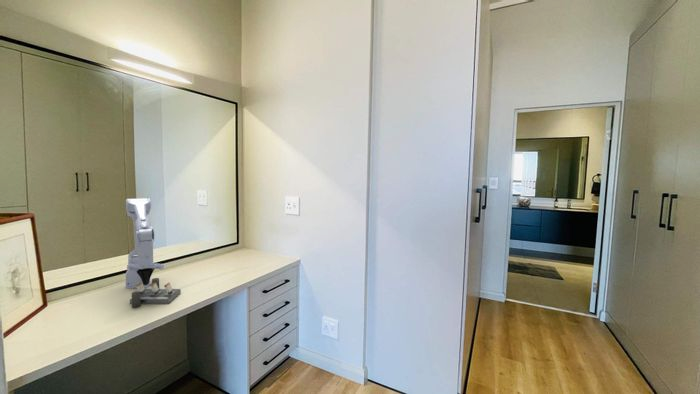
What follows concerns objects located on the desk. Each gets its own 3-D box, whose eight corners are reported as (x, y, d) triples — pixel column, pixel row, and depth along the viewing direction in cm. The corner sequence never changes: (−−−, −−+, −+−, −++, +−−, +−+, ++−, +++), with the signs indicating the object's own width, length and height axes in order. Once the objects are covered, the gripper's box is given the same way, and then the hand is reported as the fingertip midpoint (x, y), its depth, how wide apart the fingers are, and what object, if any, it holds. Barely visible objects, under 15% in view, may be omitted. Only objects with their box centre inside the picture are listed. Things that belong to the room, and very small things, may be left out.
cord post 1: (130, 307, 123) (129, 294, 122) (134, 304, 126) (134, 291, 125) (137, 307, 123) (137, 294, 123) (142, 304, 126) (141, 291, 125)
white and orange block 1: (139, 294, 130) (135, 285, 129) (143, 291, 133) (139, 283, 132) (142, 293, 130) (138, 284, 129) (145, 290, 133) (141, 282, 132)
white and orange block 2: (153, 294, 131) (149, 285, 130) (157, 291, 133) (153, 283, 133) (156, 293, 131) (152, 284, 130) (159, 290, 134) (155, 282, 133)
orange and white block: (167, 294, 131) (163, 285, 131) (170, 291, 134) (167, 283, 134) (170, 293, 131) (166, 284, 131) (173, 290, 134) (169, 282, 134)
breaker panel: (130, 303, 126) (129, 298, 126) (145, 293, 137) (144, 287, 137) (168, 303, 128) (168, 298, 128) (180, 293, 139) (180, 287, 138)
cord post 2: (150, 292, 138) (150, 280, 137) (154, 289, 141) (153, 278, 140) (157, 292, 138) (156, 280, 137) (160, 289, 141) (160, 278, 140)
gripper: (122, 257, 125) (123, 287, 126) (157, 258, 127) (158, 287, 128) (132, 252, 132) (133, 281, 133) (166, 253, 134) (166, 281, 135)
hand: (146, 284), depth 131 cm, fingers closed
